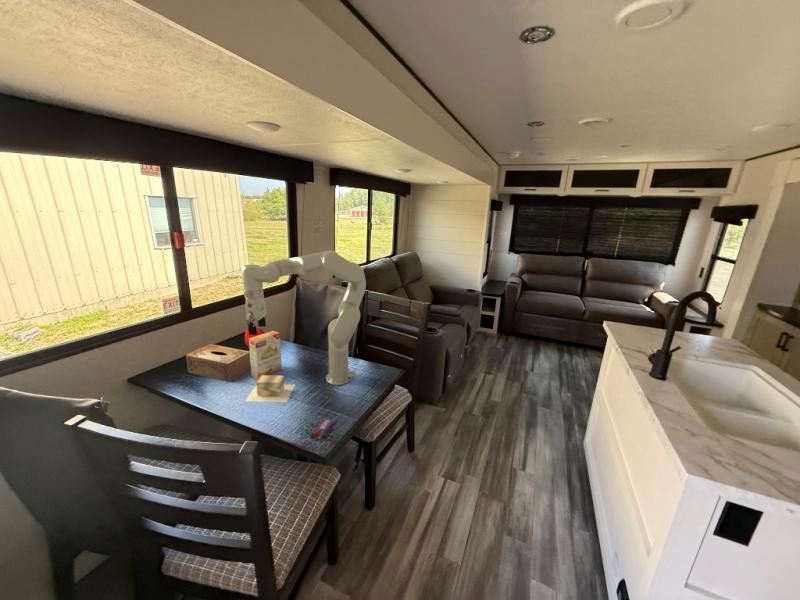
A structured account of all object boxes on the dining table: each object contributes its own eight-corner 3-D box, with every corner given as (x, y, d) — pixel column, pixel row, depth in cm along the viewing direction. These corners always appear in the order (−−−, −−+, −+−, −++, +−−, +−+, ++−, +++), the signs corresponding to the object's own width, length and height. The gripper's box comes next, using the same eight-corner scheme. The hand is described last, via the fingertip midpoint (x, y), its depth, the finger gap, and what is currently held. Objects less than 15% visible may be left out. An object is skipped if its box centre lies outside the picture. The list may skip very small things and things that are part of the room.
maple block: (284, 388, 143) (283, 375, 141) (280, 396, 137) (279, 382, 135) (262, 388, 142) (261, 375, 141) (257, 396, 137) (256, 382, 135)
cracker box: (258, 380, 149) (255, 341, 144) (251, 376, 152) (247, 338, 147) (282, 369, 161) (280, 332, 155) (275, 366, 164) (273, 329, 158)
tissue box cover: (188, 373, 153) (185, 355, 151) (212, 360, 167) (210, 344, 164) (230, 382, 147) (228, 363, 144) (252, 369, 160) (250, 351, 158)
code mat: (295, 384, 147) (295, 384, 147) (286, 401, 134) (286, 401, 134) (257, 384, 146) (257, 384, 146) (244, 401, 133) (244, 401, 132)
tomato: (258, 353, 177) (256, 332, 174) (240, 350, 180) (238, 329, 177) (271, 345, 188) (269, 325, 185) (253, 342, 191) (252, 323, 187)
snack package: (325, 415, 124) (336, 418, 123) (325, 419, 125) (336, 423, 123) (308, 433, 113) (320, 437, 112) (308, 438, 114) (320, 441, 112)
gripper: (254, 299, 124) (258, 338, 128) (270, 288, 140) (273, 323, 145) (235, 298, 123) (240, 337, 128) (253, 288, 140) (257, 323, 145)
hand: (257, 330), depth 136 cm, fingers open, 9 cm apart
